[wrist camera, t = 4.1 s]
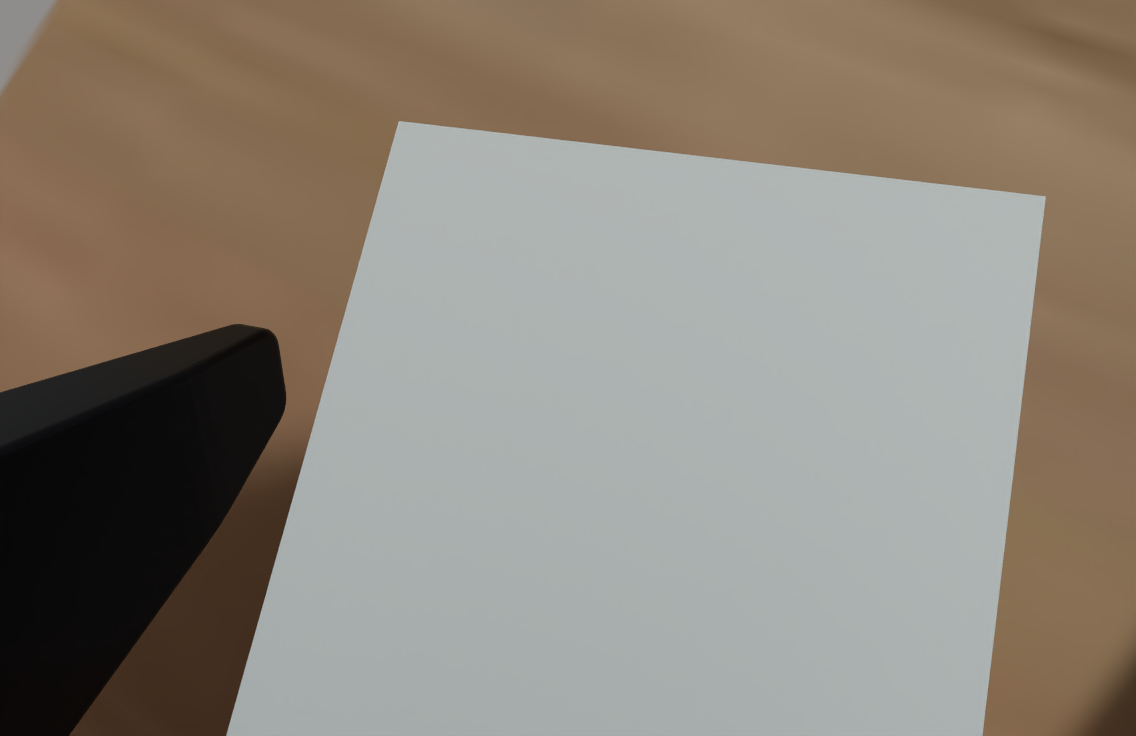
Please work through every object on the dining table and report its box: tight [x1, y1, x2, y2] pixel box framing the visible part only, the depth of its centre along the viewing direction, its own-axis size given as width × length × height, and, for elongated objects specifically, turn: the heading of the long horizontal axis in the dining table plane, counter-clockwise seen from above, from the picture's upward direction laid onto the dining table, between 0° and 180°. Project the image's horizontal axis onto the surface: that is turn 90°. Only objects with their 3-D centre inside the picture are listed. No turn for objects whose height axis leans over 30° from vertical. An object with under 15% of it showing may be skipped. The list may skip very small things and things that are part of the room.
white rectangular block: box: [226, 121, 1045, 736], centre depth 11 cm, size 6×4×10 cm
